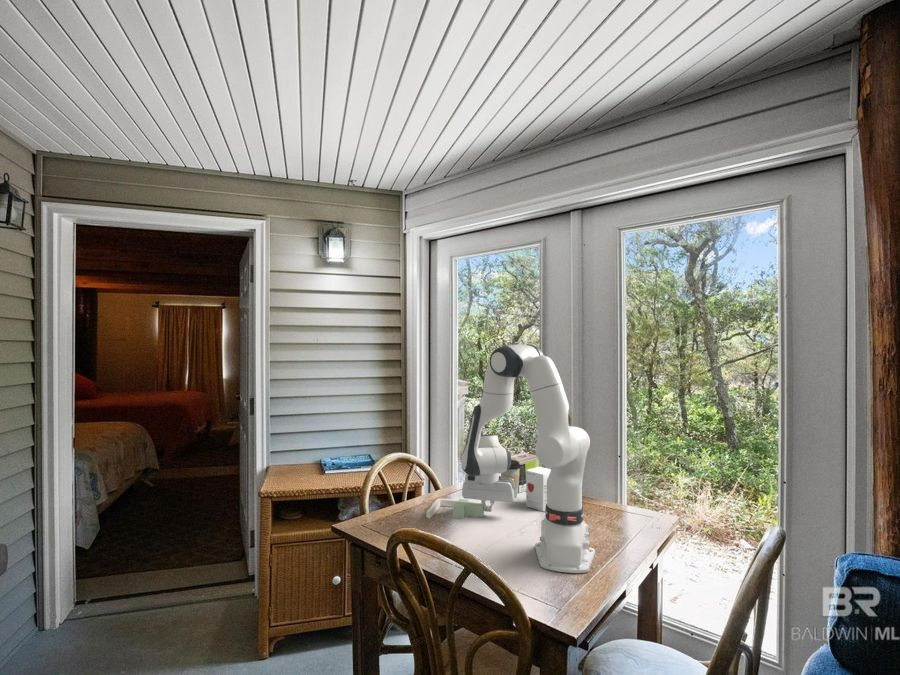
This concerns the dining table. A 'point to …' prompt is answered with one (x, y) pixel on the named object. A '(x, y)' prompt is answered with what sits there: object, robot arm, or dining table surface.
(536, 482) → the supplement box
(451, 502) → the fence
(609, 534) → the dining table surface
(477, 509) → the t block
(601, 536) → the dining table surface
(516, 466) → the coffee cup
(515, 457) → the tea box
